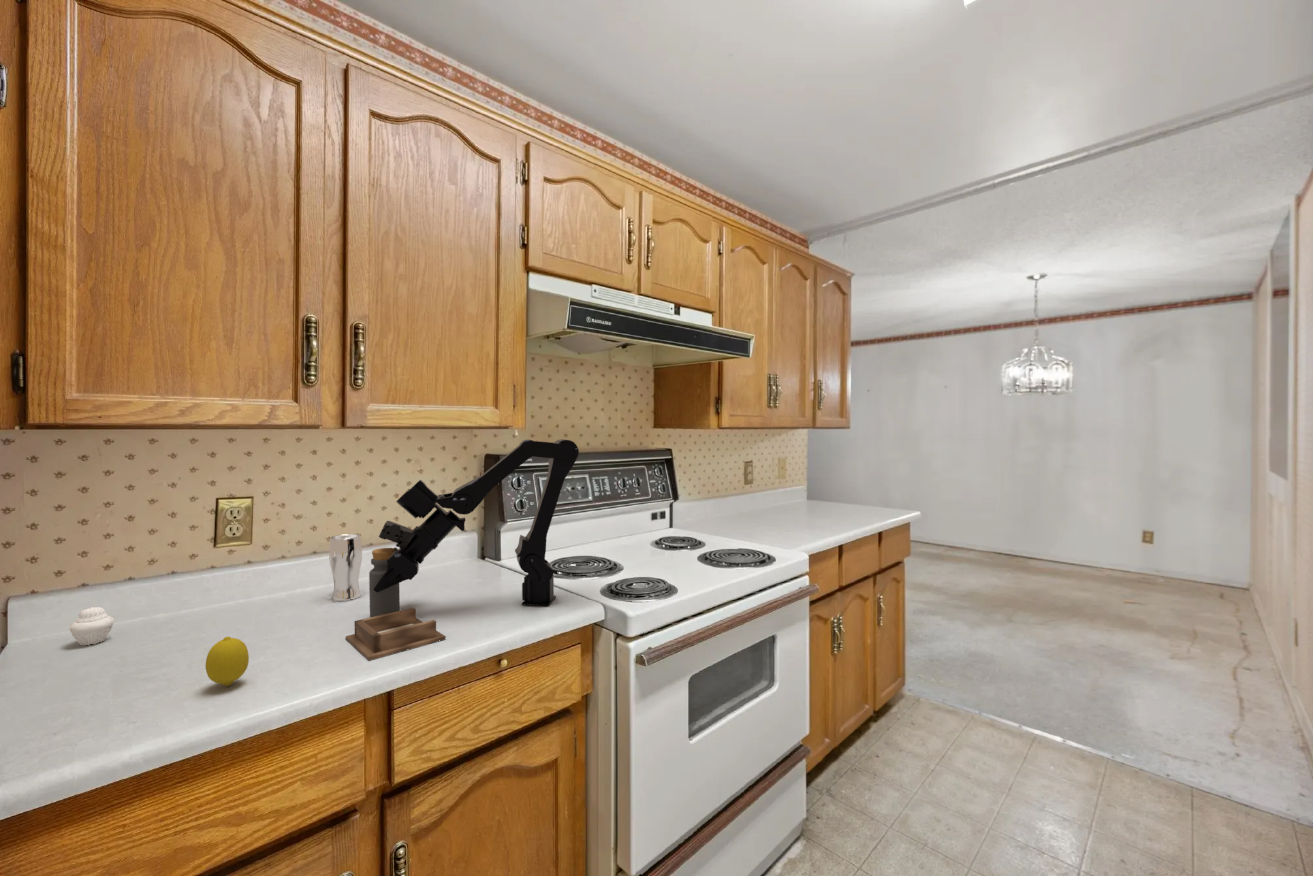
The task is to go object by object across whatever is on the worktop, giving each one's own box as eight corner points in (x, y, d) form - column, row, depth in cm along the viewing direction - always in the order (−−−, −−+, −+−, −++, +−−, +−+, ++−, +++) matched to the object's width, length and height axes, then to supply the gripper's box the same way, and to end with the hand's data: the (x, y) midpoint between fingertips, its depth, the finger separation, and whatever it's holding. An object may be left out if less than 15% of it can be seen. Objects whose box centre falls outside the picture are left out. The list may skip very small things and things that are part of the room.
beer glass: (368, 596, 137) (367, 535, 137) (339, 603, 131) (338, 540, 131) (353, 591, 141) (351, 532, 140) (324, 599, 135) (323, 537, 134)
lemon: (221, 678, 92) (220, 631, 92) (257, 677, 93) (256, 630, 93) (197, 695, 87) (196, 644, 87) (234, 693, 87) (233, 643, 87)
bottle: (387, 624, 118) (386, 553, 117) (363, 622, 119) (362, 552, 118) (405, 614, 123) (404, 547, 123) (382, 613, 125) (381, 546, 124)
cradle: (417, 621, 119) (417, 604, 119) (445, 639, 109) (445, 621, 109) (345, 639, 109) (345, 621, 109) (368, 660, 99) (368, 640, 99)
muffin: (87, 638, 111) (86, 603, 110) (122, 635, 112) (121, 601, 112) (60, 650, 105) (59, 613, 104) (98, 647, 106) (97, 611, 106)
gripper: (407, 502, 131) (355, 553, 127) (398, 514, 113) (338, 573, 110) (443, 533, 133) (393, 584, 130) (440, 550, 116) (382, 608, 112)
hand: (377, 586), depth 120 cm, fingers open, 7 cm apart
